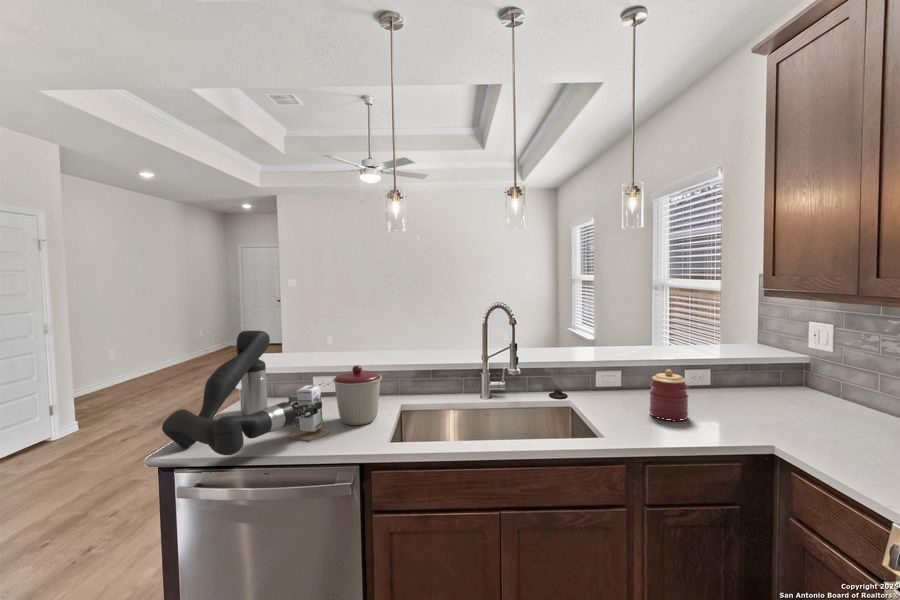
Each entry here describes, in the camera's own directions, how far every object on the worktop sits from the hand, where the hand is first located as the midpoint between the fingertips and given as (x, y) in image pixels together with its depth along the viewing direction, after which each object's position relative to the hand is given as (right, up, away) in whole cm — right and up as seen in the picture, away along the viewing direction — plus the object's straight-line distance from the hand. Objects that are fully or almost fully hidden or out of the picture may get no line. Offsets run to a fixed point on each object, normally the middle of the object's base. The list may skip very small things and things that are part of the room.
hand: (313, 403), depth 151 cm
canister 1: (+13, -10, +12) cm, 20 cm away
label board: (-7, -10, +9) cm, 15 cm away
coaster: (-1, -11, -1) cm, 11 cm away
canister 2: (+129, -8, +11) cm, 130 cm away
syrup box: (0, -9, -1) cm, 9 cm away
